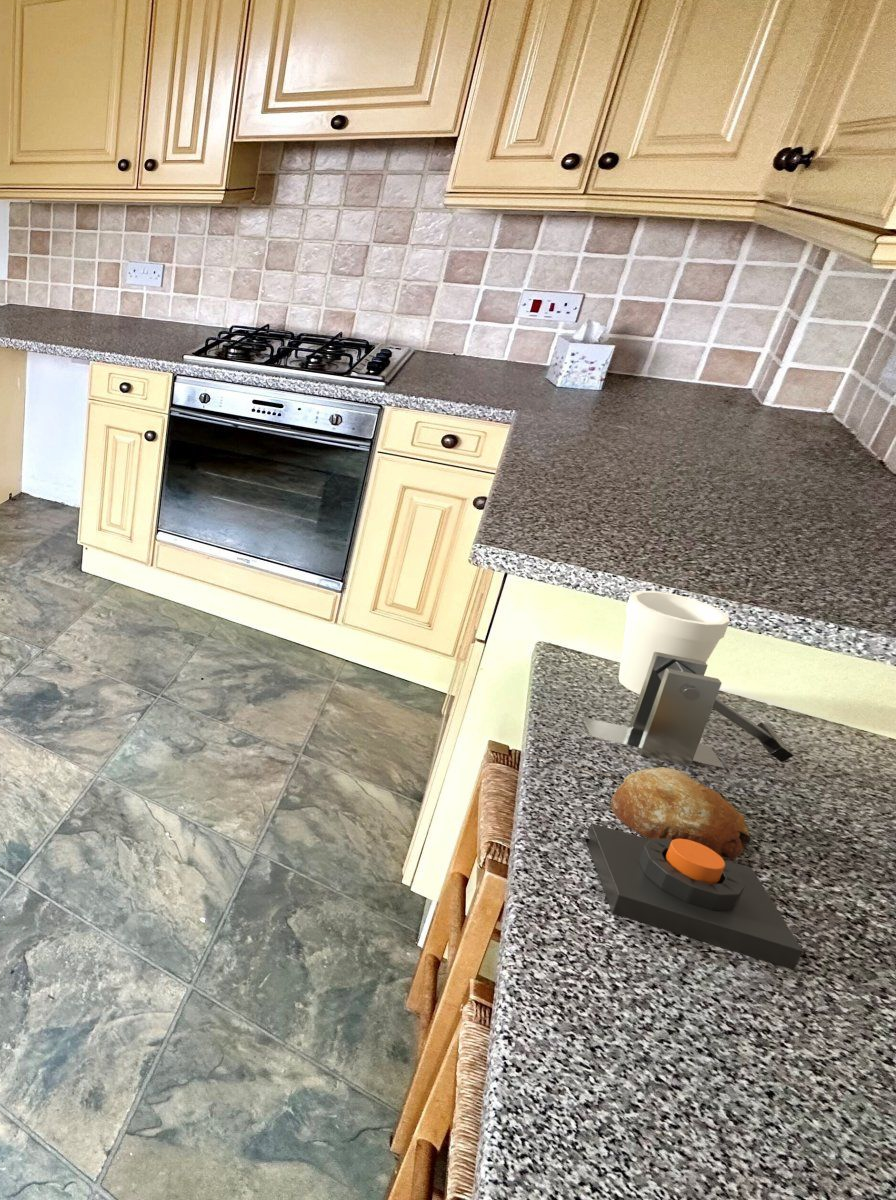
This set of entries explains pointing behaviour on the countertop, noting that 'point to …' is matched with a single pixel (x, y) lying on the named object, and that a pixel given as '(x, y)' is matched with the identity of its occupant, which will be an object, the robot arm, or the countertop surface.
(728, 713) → the lever
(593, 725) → the metal lever bracket
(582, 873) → the countertop surface
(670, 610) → the foam cup
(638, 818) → the bread roll
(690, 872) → the button
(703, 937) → the control block
